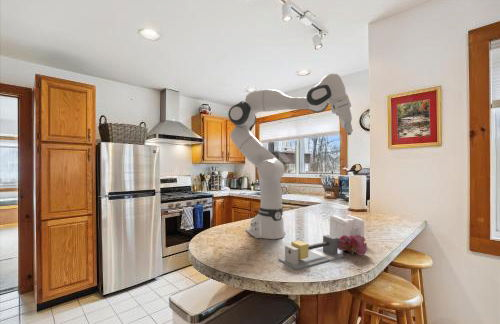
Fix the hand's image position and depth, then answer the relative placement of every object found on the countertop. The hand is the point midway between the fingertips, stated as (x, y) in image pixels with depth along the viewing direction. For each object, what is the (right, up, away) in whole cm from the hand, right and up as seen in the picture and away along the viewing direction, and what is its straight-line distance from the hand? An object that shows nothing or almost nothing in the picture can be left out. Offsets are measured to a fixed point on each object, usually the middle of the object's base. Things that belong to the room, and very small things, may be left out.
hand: (350, 133), depth 113 cm
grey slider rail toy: (-23, -51, -19) cm, 59 cm away
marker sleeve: (-29, -49, -23) cm, 61 cm away
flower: (-5, -52, -13) cm, 54 cm away
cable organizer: (0, -52, +4) cm, 52 cm away
